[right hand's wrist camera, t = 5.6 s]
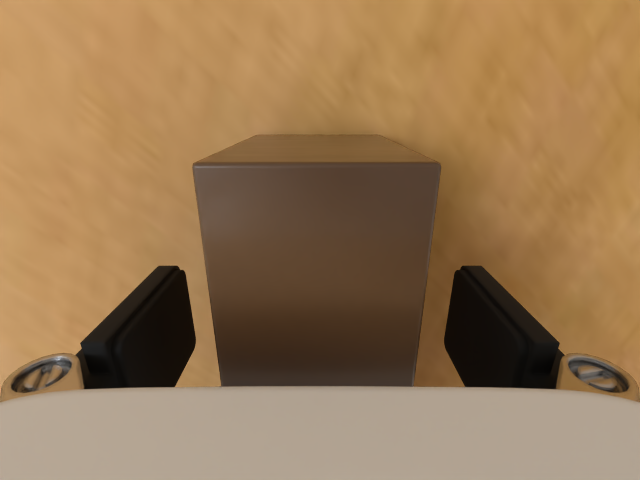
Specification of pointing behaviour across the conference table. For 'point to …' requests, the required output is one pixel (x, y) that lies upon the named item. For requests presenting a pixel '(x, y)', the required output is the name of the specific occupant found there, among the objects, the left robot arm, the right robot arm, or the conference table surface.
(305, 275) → the bar
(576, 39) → the conference table surface
